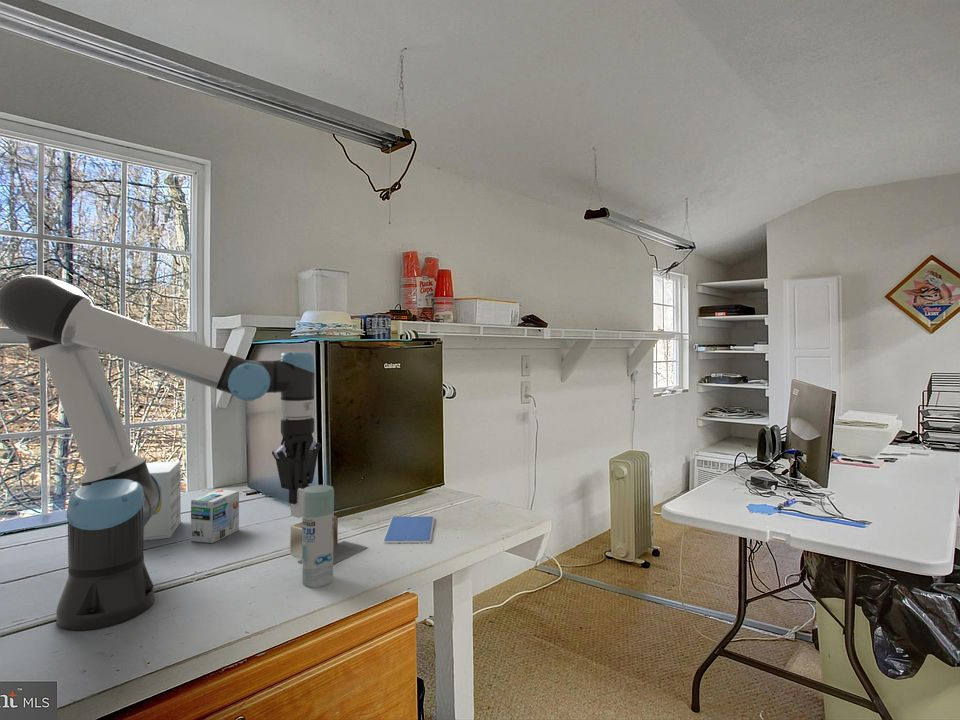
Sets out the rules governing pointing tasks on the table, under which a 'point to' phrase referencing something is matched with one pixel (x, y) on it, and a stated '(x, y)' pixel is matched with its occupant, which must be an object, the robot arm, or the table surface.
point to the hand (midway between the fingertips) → (297, 515)
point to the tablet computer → (409, 530)
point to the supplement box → (165, 500)
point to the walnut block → (297, 538)
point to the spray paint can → (317, 535)
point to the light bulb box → (214, 516)
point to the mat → (344, 551)
